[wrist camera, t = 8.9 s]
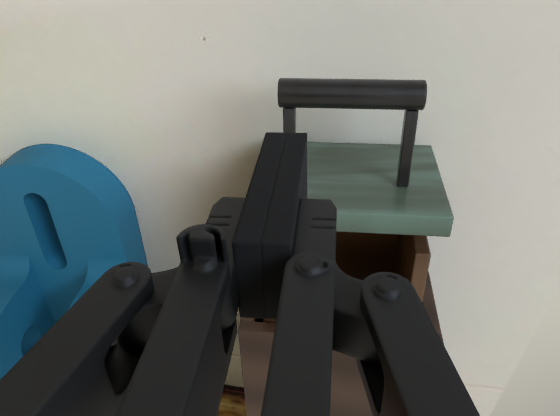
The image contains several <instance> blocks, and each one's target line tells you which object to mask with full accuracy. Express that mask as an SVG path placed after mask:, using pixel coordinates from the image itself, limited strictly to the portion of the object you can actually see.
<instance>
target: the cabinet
mask: <svg viewBox="0 0 560 416" xmlns="http://www.w3.org/2000/svg"><path fill="white" fill-rule="evenodd" d="M422 304H423V306H424V308H425V310H426V312H427V314H428V316H429V318H430V320H431V321H432V323H433V325H434V327H435V329H436V331H437V333H438V335H439V337H440V339H441V341H442V343H443V338H442V334H441V329H440V325H439V320H438V315H437V310H436V305H435V300H434V296H433V291H432V286H431V281H430V276H429V272H428V273H427V278H426V284H425V289H424V295H423V300H422ZM275 325H276V323H266V322H263V319H260V318H243V317H241V321H240V325H239V329H238V334H239V343H240V353H241V363H242V373H243V382H244V392H245V402H246V412H247V416H261V411H262V405H263V398H264V392H265V386H266V380H267V374H268V368H269V362H270V356H271V350H272V343H273V337H274V331H275ZM443 345H444V343H443ZM330 416H373V414H372V411H371V408H370V405H369V401H368V398H367V395H366V392H365V389H364V385H363V382H362V379H361V376H360V373H359V369H358V366H357V363H356V358H354V357H351V356H348V355H345V354H343V353H340V352H337V351H334V350H333V351H332V378H331V406H330Z"/></svg>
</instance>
